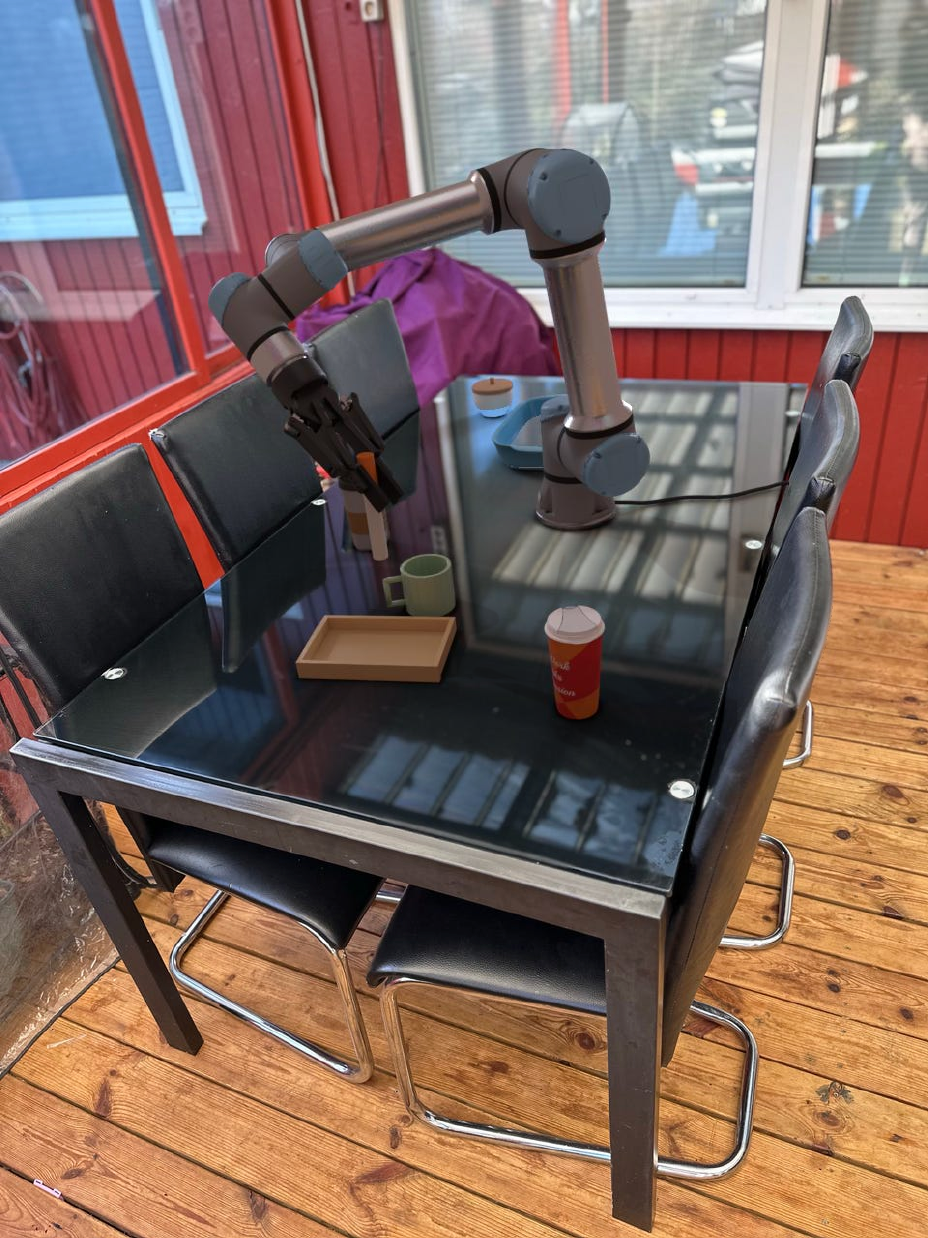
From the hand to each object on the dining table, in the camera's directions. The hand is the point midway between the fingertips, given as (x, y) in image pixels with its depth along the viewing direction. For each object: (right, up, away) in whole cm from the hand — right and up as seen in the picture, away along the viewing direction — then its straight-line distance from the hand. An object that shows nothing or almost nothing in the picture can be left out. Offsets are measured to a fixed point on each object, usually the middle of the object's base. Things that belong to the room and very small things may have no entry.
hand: (391, 503), depth 124 cm
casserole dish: (+31, +23, +80) cm, 89 cm away
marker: (-2, -7, +7) cm, 10 cm away
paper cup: (+26, -28, -4) cm, 38 cm away
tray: (-3, -22, +12) cm, 25 cm away
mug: (+3, -15, +22) cm, 27 cm away
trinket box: (+18, +37, +105) cm, 113 cm away
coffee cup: (-8, -2, +45) cm, 46 cm away
